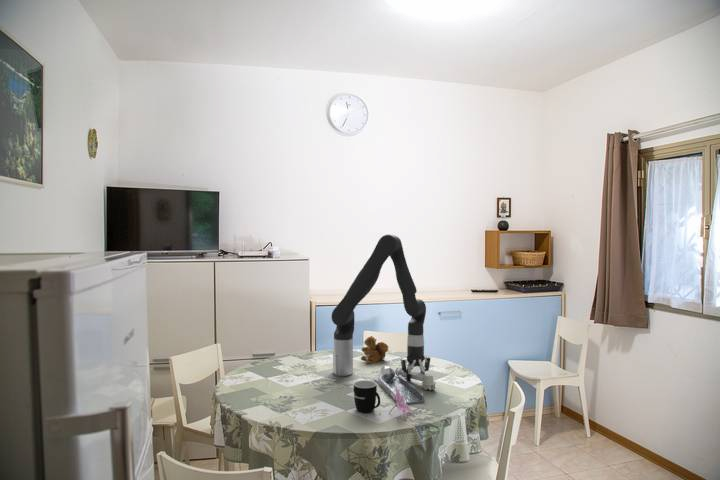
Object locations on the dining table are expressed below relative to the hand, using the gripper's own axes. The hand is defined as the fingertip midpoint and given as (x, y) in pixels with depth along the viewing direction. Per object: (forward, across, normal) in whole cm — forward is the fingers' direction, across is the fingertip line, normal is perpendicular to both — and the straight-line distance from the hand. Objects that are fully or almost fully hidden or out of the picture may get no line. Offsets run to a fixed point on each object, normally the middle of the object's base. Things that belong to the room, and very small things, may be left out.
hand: (415, 380), depth 205 cm
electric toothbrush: (+1, 0, 0) cm, 1 cm away
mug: (+2, +30, +24) cm, 38 cm away
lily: (+2, +19, +31) cm, 37 cm away
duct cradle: (+1, +11, +6) cm, 13 cm away
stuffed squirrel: (+2, +6, -41) cm, 41 cm away
